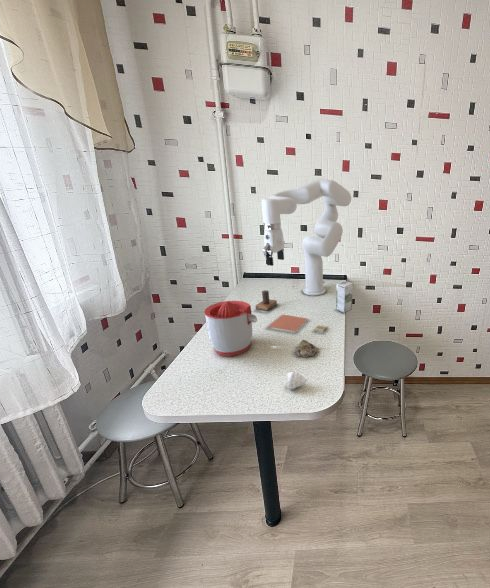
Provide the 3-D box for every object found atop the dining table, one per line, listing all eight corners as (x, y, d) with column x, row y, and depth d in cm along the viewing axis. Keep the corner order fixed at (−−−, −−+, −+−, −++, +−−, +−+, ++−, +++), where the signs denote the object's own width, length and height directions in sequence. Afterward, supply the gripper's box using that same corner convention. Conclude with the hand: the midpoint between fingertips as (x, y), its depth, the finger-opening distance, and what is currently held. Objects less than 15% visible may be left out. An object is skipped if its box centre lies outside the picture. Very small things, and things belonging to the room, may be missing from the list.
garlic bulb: (305, 392, 105) (305, 378, 103) (286, 392, 105) (285, 378, 103) (308, 381, 110) (307, 368, 108) (289, 381, 110) (289, 368, 108)
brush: (266, 304, 167) (264, 287, 163) (276, 305, 165) (275, 289, 162) (255, 311, 158) (254, 293, 155) (267, 313, 157) (265, 295, 154)
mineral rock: (320, 351, 124) (299, 348, 121) (317, 361, 125) (296, 359, 122) (315, 338, 133) (295, 335, 130) (312, 348, 134) (293, 345, 131)
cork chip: (318, 327, 146) (318, 324, 146) (327, 329, 145) (326, 326, 145) (314, 331, 142) (314, 328, 142) (323, 333, 142) (323, 330, 141)
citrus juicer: (255, 359, 121) (250, 309, 114) (204, 361, 118) (196, 310, 111) (262, 338, 135) (258, 292, 128) (217, 339, 132) (210, 293, 125)
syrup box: (343, 306, 169) (343, 280, 163) (352, 310, 166) (352, 283, 160) (335, 310, 164) (335, 282, 159) (344, 313, 161) (345, 285, 156)
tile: (282, 316, 155) (282, 314, 154) (308, 320, 152) (308, 318, 152) (267, 328, 143) (267, 326, 143) (295, 333, 140) (295, 331, 140)
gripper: (269, 230, 142) (273, 268, 149) (289, 223, 158) (291, 258, 164) (254, 229, 144) (258, 266, 150) (275, 222, 159) (277, 256, 166)
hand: (275, 262), depth 157 cm, fingers open, 9 cm apart
